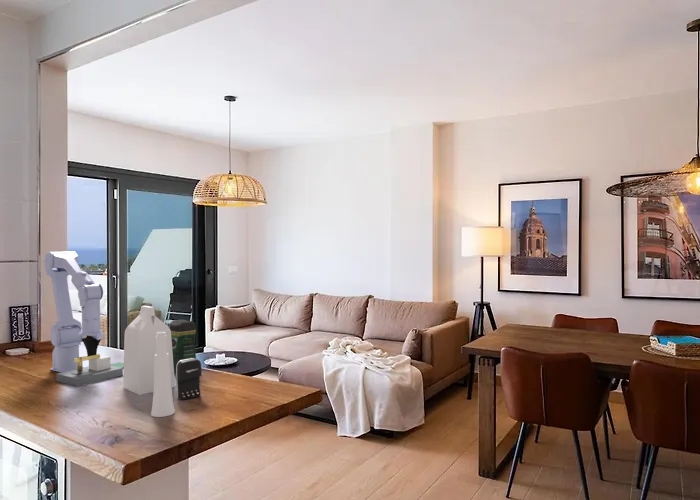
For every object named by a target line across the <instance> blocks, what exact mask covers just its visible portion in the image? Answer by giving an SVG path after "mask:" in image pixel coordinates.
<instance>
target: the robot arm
mask: <svg viewBox="0 0 700 500" xmlns="http://www.w3.org/2000/svg"><path fill="white" fill-rule="evenodd" d="M44 268H45V273H46V275H47V276H48V277H50V279H51V284H52V290H53V291H52V292H53V296H54V303H55V309H56V310H55V311H56V316H57V321H56V322H54V323H53V325H51V327H50V342H51V345H52V346H54V348H53V350H52V353H51V354H52V355H51V356H52V357H51V358H52V367H51V368H49V370H51V371H53V372H58V373H62V372H67V371H71V370H76V369H77V362H74V358H78V357H80V345H82V343H83V345H84V347H85V350H86V356H91V355H96V354H98V353H97V351H98V347H99V344H100V342H101V341H102V340H104V338H105V337H104V333H103V332H102V330H101V329H102V328H101V300H102V299H103V297H104V289H103V286H102V284H101V283H99V282H95V281H94V280H93V279H92V277H91V275H89V274H88V272H86V271H82V269H81V267H80V266H79V255H78V253H77V252H76V251H75V250H71V251H47V253H46V254H45V256H44ZM68 276H71V280H70V281H71V283H72V285H74V287H75V289H76V290H77V297H78V300H79V306H80V307H81V321H79V320H78V319H76V318H74V317H73V309H72V303H71V297H70V291H69V286H68ZM85 336H86V337H85ZM83 368H85V366H83Z"/></svg>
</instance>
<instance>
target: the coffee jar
mask: <svg viewBox="0 0 700 500" xmlns="http://www.w3.org/2000/svg"><path fill="white" fill-rule="evenodd" d="M168 327H169V328H170V330H171V339H172V352H173V365H174V374H176V364H177V363H178V362H179V361H181V360H185V359H191V358H196V359H197V354H196V351H197V350H196V348H197V347H196V332H197V329H196V322H193V321H191V320H186V319H173V320H171V322H170V323H169V326H168Z"/></svg>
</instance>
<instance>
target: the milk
mask: <svg viewBox="0 0 700 500" xmlns="http://www.w3.org/2000/svg"><path fill="white" fill-rule="evenodd" d="M169 327H170V326H168V325H167V324H166V323H164V322H163V321H162V320H161V319H160V318H159V317H157V316H156V313H155V307H153V306H151V305H150V306H149V305H141V306H140V311H139V314H138V315H137V317H135V318H134V319H133V320H132V321H131V323H129V324H128V326H127V327H126V328H125V330H124V340H123V343H124V345H123V363H124V368H123V375H122V376H123V378H122V379H123V380H122V381H123V383H122V388H123V389H125V390H128V391H129V392H133V393H134V394H137V395H138V396H139V395H140V396H141V395H146V394H150V393H153V392H154V358H155V354H156V336H157V333H158V332H166V334H165V335H166V336H167V353H168V354H169V362H170V376H171V388H175V387H176V377H175V372H174V365H173V352H172V339H171V330H170V328H169Z"/></svg>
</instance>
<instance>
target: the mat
mask: <svg viewBox="0 0 700 500" xmlns="http://www.w3.org/2000/svg"><path fill="white" fill-rule="evenodd" d="M111 366H115V367H120V368H123V369H124V362H120V361H119V362H114V363H111Z"/></svg>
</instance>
